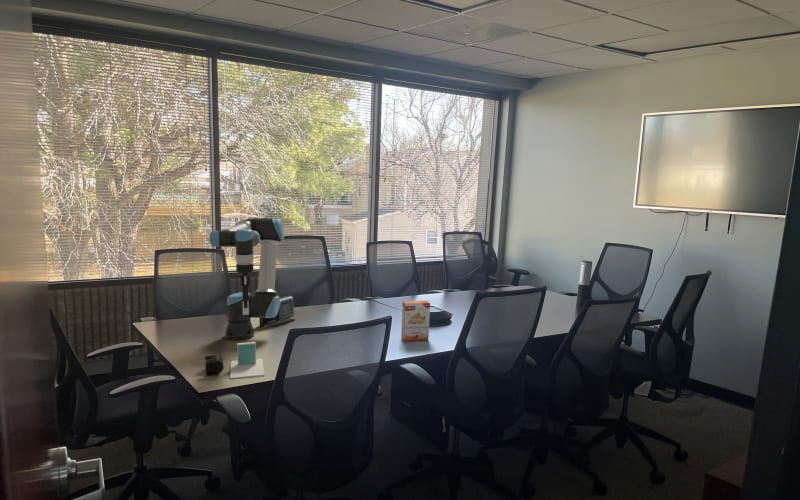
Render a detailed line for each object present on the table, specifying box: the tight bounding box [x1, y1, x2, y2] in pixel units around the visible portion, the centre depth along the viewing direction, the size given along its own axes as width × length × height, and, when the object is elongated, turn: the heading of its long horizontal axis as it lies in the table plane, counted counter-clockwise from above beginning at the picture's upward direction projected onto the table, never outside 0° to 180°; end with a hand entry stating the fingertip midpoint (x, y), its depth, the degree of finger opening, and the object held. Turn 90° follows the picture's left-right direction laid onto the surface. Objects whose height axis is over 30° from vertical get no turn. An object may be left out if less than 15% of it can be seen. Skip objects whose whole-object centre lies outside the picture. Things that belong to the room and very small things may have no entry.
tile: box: [236, 341, 257, 366], centre depth 229 cm, size 2×8×10 cm, turn 108°
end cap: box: [204, 352, 224, 377], centre depth 222 cm, size 10×7×7 cm
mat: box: [229, 357, 265, 380], centre depth 226 cm, size 20×14×1 cm
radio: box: [259, 295, 296, 329], centre depth 294 cm, size 23×9×15 cm, turn 132°
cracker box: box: [400, 300, 431, 342], centre depth 271 cm, size 14×6×21 cm, turn 105°
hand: (245, 313), depth 233 cm, fingers open, 3 cm apart
